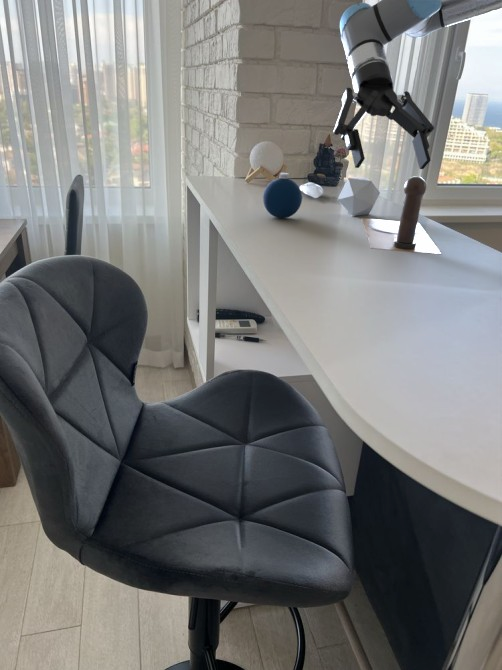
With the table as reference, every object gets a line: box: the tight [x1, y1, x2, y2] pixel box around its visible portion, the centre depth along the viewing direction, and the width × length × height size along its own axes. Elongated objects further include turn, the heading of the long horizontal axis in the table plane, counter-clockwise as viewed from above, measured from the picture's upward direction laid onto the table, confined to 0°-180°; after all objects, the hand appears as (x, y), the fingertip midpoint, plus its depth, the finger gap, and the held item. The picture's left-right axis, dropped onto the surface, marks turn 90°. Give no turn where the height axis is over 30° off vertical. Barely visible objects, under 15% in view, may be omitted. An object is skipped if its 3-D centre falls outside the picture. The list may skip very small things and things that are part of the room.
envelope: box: [360, 217, 443, 255], centre depth 101 cm, size 13×24×1 cm, turn 173°
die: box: [336, 176, 381, 217], centre depth 116 cm, size 8×9×10 cm
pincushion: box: [299, 176, 324, 199], centre depth 134 cm, size 12×6×6 cm, turn 6°
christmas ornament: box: [262, 172, 303, 219], centre depth 109 cm, size 8×8×10 cm
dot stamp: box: [393, 176, 428, 250], centre depth 91 cm, size 4×4×12 cm
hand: (393, 164), depth 95 cm, fingers open, 13 cm apart
